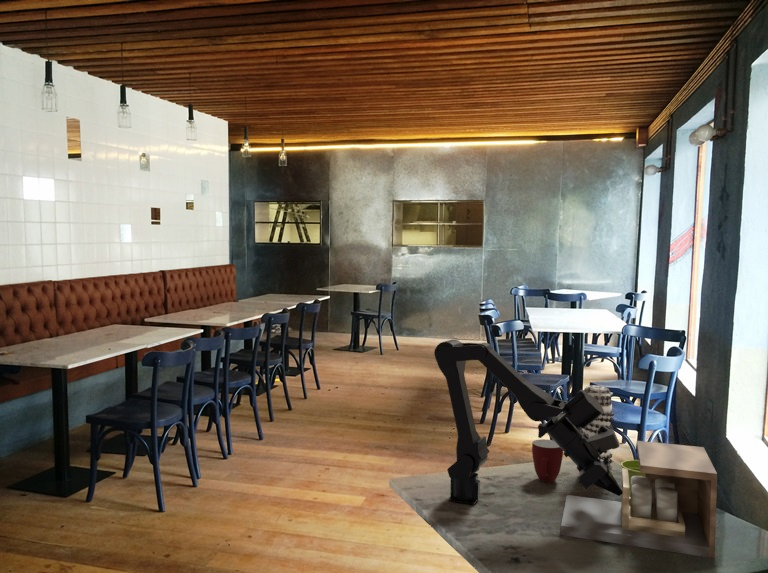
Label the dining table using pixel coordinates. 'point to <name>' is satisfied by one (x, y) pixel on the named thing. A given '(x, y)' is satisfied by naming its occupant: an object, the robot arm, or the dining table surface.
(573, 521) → the wooden display stand
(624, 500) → the tray
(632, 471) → the plant pot
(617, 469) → the dining table surface
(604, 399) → the white patterned cylinder
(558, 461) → the mug
